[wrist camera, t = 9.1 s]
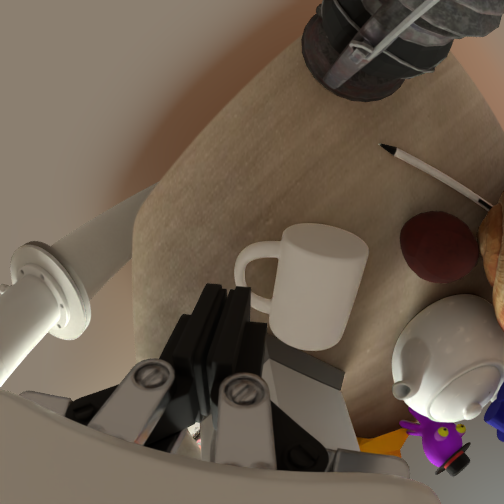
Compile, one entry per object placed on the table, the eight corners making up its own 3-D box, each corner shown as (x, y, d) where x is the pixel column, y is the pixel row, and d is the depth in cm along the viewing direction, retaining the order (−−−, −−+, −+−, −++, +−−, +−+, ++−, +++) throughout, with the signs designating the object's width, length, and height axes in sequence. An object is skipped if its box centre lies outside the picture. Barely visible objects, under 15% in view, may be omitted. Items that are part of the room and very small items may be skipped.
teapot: (393, 397, 39) (407, 468, 27) (371, 316, 33) (395, 407, 21) (492, 354, 34) (523, 415, 22) (497, 261, 28) (555, 325, 16)
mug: (360, 229, 29) (378, 265, 22) (338, 308, 34) (346, 355, 27) (245, 211, 30) (228, 243, 23) (237, 293, 35) (222, 338, 28)
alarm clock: (264, 331, 36) (236, 484, 18) (356, 377, 38) (369, 507, 20) (199, 402, 45) (165, 505, 27) (277, 434, 47) (264, 532, 29)
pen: (502, 221, 26) (507, 224, 25) (376, 147, 25) (379, 148, 24) (505, 214, 25) (510, 217, 24) (379, 139, 25) (382, 140, 24)
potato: (406, 190, 27) (430, 208, 21) (474, 222, 26) (502, 244, 21) (380, 253, 30) (395, 282, 24) (448, 277, 30) (469, 305, 24)
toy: (464, 386, 38) (498, 444, 23) (438, 427, 41) (461, 484, 27) (416, 390, 38) (445, 460, 24) (391, 433, 42) (409, 497, 28)
